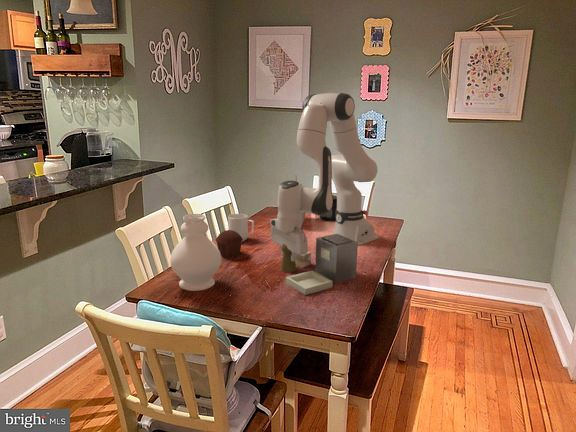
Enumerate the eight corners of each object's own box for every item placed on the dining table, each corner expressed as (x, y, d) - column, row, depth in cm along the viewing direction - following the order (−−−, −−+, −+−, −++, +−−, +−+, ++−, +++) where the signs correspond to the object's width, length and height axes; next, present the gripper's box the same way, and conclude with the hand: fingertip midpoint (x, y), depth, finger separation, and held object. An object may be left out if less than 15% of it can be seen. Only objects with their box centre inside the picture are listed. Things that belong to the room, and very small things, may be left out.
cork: (280, 267, 188) (280, 240, 185) (295, 266, 188) (295, 240, 186) (281, 273, 182) (281, 245, 179) (297, 272, 183) (297, 245, 180)
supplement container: (340, 216, 259) (341, 195, 256) (337, 222, 249) (338, 199, 246) (321, 215, 262) (321, 194, 258) (317, 220, 252) (318, 198, 248)
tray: (312, 276, 180) (312, 270, 179) (332, 287, 170) (332, 281, 169) (285, 283, 173) (285, 277, 172) (305, 295, 163) (305, 288, 163)
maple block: (301, 261, 195) (301, 249, 193) (310, 264, 192) (311, 252, 190) (293, 264, 191) (293, 252, 190) (303, 267, 188) (303, 255, 187)
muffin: (246, 257, 198) (246, 234, 196) (220, 260, 194) (219, 237, 192) (238, 248, 209) (237, 226, 206) (213, 251, 205) (212, 228, 202)
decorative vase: (165, 279, 175) (161, 213, 168) (211, 270, 184) (209, 207, 177) (180, 298, 160) (176, 226, 154) (229, 287, 169) (228, 219, 162)
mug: (225, 241, 218) (224, 217, 215) (233, 235, 226) (233, 212, 223) (249, 244, 214) (249, 220, 211) (257, 238, 222) (257, 215, 219)
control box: (335, 267, 188) (336, 232, 184) (356, 277, 179) (358, 241, 175) (314, 272, 183) (315, 237, 179) (334, 283, 173) (336, 246, 169)
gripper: (312, 229, 174) (311, 265, 178) (281, 216, 190) (281, 249, 194) (298, 232, 170) (297, 268, 174) (267, 219, 187) (267, 252, 190)
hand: (288, 258), depth 184 cm, fingers closed on cork, 4 cm apart
